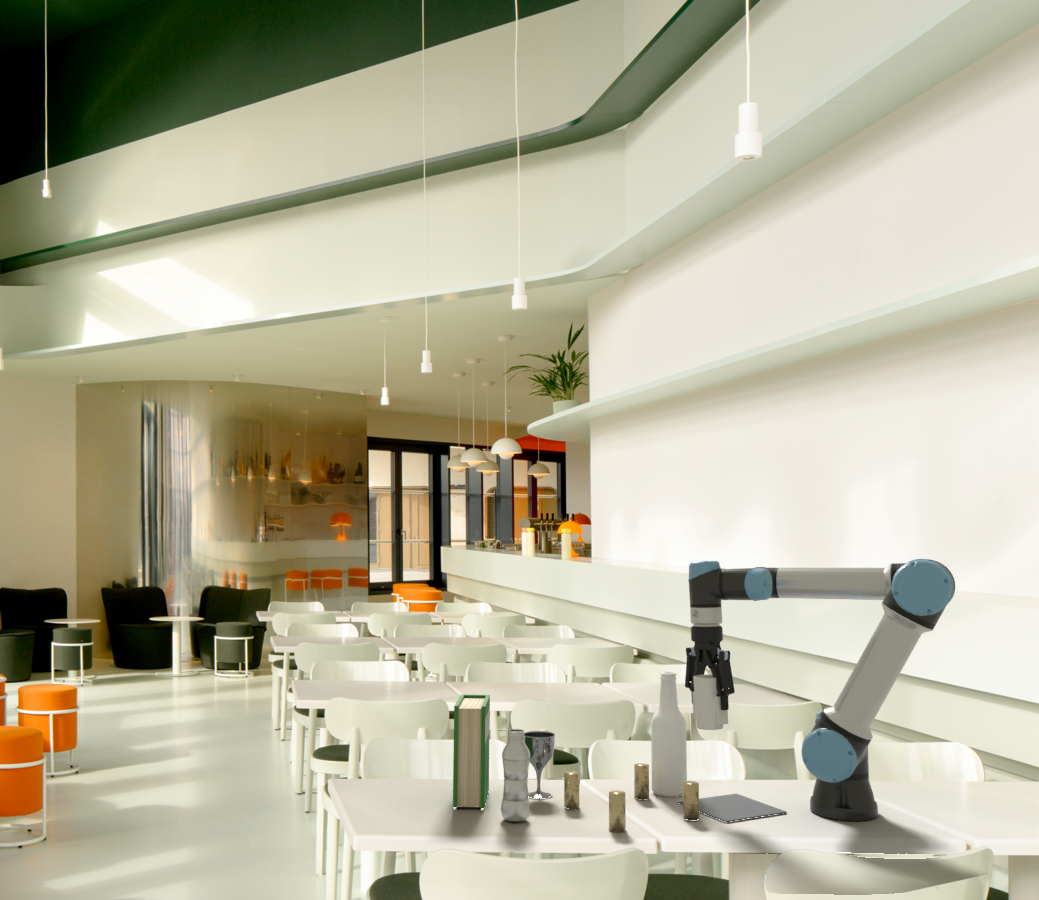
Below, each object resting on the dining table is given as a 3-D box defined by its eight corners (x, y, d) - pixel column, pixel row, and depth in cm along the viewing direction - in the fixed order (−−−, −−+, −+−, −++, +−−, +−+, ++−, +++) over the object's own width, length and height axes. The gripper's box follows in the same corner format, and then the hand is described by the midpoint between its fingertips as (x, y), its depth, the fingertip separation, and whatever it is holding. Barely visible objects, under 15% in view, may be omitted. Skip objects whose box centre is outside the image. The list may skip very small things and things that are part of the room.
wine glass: (517, 797, 234) (518, 735, 236) (529, 790, 242) (530, 730, 243) (548, 801, 231) (548, 738, 233) (559, 793, 239) (559, 732, 240)
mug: (725, 730, 221) (723, 678, 223) (696, 730, 222) (694, 678, 224) (722, 722, 231) (720, 672, 233) (694, 722, 232) (692, 672, 234)
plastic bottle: (515, 815, 219) (515, 726, 221) (536, 821, 214) (536, 730, 216) (494, 820, 215) (495, 730, 217) (515, 826, 210) (516, 734, 212)
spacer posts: (702, 820, 216) (702, 784, 217) (614, 833, 206) (614, 795, 206) (643, 795, 237) (643, 762, 238) (561, 806, 226) (561, 772, 227)
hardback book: (484, 810, 223) (485, 706, 225) (452, 810, 223) (454, 706, 225) (488, 791, 240) (489, 694, 242) (459, 791, 240) (460, 694, 243)
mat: (786, 813, 222) (786, 811, 222) (725, 823, 214) (725, 821, 214) (736, 795, 238) (736, 793, 238) (677, 803, 230) (677, 801, 230)
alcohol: (647, 795, 237) (647, 673, 240) (656, 787, 245) (655, 669, 248) (682, 799, 234) (681, 675, 237) (690, 791, 242) (689, 671, 245)
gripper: (667, 623, 236) (671, 717, 234) (723, 628, 218) (727, 729, 216) (691, 622, 240) (695, 714, 237) (747, 626, 222) (752, 726, 219)
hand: (710, 721), depth 226 cm, fingers closed on mug, 8 cm apart
